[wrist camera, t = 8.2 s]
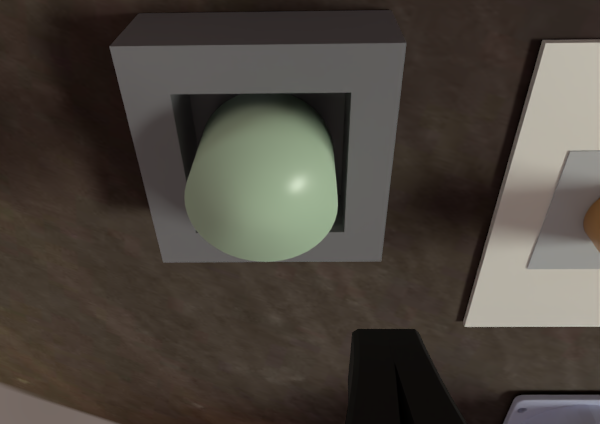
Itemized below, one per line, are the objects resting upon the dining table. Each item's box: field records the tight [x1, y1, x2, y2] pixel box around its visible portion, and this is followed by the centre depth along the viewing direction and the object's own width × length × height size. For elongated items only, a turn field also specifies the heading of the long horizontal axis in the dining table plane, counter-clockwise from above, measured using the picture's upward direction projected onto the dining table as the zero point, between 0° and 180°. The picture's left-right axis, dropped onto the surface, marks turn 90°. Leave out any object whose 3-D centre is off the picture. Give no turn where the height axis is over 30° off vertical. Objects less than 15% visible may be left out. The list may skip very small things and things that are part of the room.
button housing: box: [109, 10, 406, 262], centre depth 17 cm, size 8×8×3 cm
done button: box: [184, 93, 338, 262], centre depth 16 cm, size 4×4×3 cm
